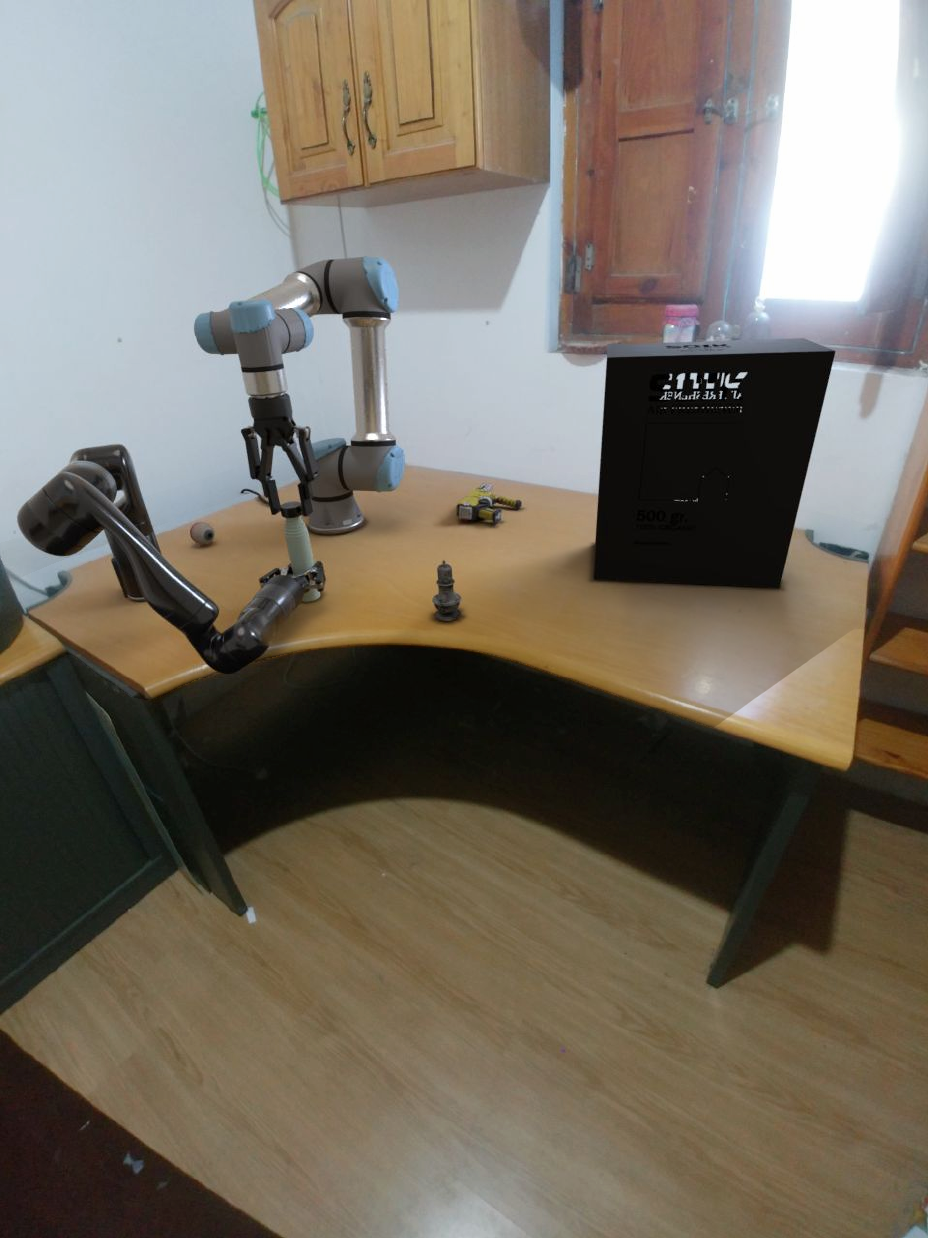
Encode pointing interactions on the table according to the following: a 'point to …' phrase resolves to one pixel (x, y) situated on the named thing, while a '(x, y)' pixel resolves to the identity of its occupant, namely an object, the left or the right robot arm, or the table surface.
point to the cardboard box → (706, 459)
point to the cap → (291, 509)
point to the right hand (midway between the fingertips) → (292, 513)
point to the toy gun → (483, 505)
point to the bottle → (300, 551)
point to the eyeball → (202, 533)
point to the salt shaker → (446, 595)
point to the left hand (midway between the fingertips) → (308, 564)
